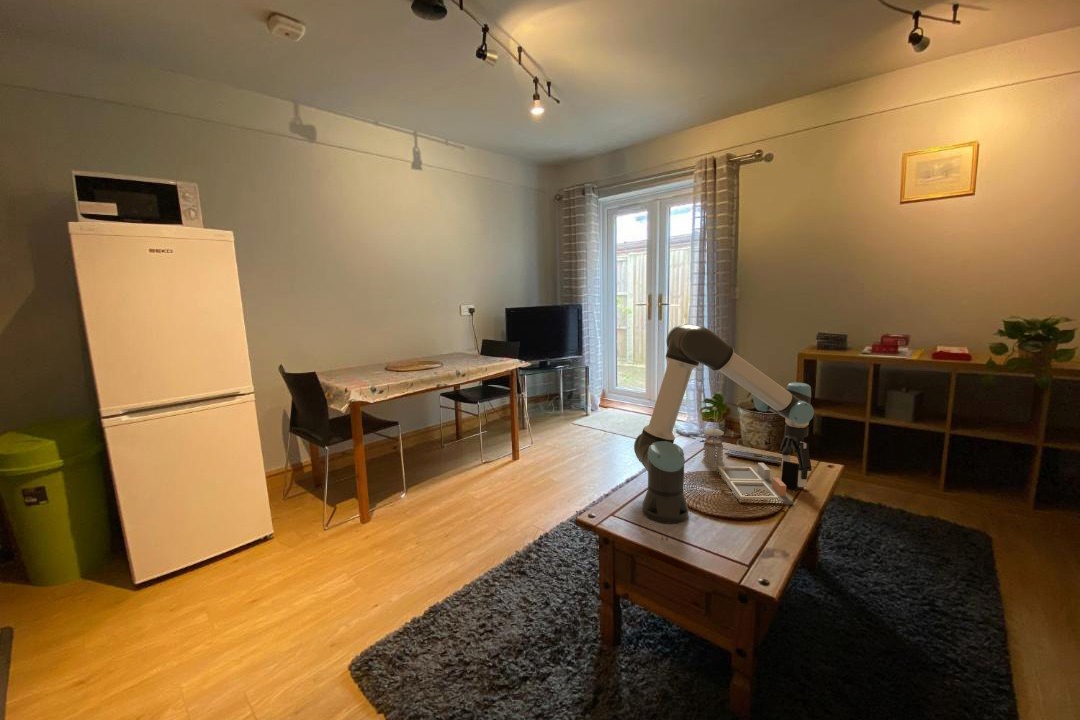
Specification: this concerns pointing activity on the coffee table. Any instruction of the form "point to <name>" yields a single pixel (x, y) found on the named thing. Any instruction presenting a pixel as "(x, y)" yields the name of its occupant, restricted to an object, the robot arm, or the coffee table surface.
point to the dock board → (754, 482)
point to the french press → (713, 447)
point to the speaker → (790, 475)
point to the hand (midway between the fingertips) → (793, 478)
